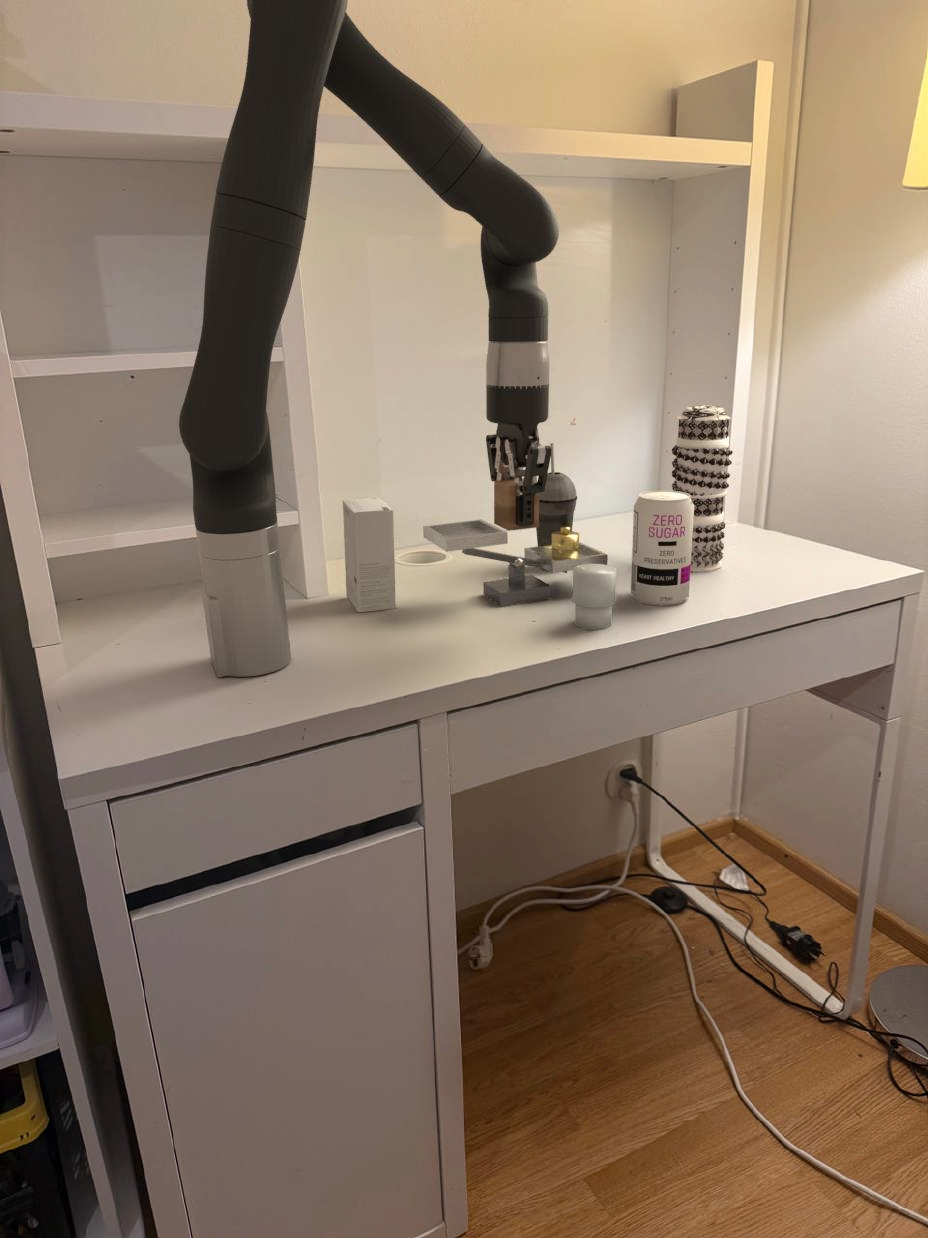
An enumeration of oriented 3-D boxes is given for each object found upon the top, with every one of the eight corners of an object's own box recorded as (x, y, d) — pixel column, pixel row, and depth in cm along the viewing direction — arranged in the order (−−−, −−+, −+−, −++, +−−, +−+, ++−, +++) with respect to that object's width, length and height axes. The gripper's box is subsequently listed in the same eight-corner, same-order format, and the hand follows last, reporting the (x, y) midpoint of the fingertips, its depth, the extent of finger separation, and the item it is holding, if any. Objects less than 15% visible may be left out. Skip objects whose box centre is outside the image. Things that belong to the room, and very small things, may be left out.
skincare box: (346, 597, 131) (338, 499, 126) (385, 592, 133) (379, 495, 128) (358, 614, 123) (350, 510, 118) (399, 609, 125) (394, 506, 120)
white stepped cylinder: (622, 626, 116) (624, 572, 113) (585, 633, 114) (586, 577, 111) (600, 614, 121) (602, 561, 118) (564, 620, 119) (565, 567, 116)
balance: (449, 618, 121) (446, 539, 117) (426, 600, 128) (423, 526, 125) (606, 593, 129) (608, 519, 126) (576, 577, 137) (577, 507, 134)
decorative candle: (669, 572, 139) (677, 410, 130) (663, 557, 147) (670, 404, 139) (728, 572, 137) (740, 409, 129) (719, 557, 146) (730, 403, 138)
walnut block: (508, 530, 108) (508, 486, 106) (494, 523, 112) (494, 480, 110) (538, 527, 110) (539, 483, 108) (523, 520, 113) (524, 478, 112)
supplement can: (664, 586, 132) (669, 487, 127) (700, 601, 125) (707, 496, 120) (619, 595, 128) (622, 493, 124) (654, 610, 121) (659, 503, 116)
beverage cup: (540, 576, 139) (540, 448, 132) (525, 564, 145) (524, 442, 139) (583, 571, 140) (585, 445, 134) (566, 560, 147) (567, 439, 140)
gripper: (574, 383, 100) (570, 530, 106) (519, 376, 113) (518, 508, 118) (515, 386, 98) (514, 536, 103) (465, 378, 110) (466, 513, 116)
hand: (516, 520), depth 111 cm, fingers closed on walnut block, 4 cm apart
